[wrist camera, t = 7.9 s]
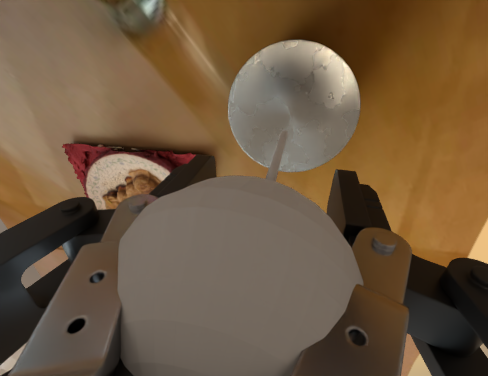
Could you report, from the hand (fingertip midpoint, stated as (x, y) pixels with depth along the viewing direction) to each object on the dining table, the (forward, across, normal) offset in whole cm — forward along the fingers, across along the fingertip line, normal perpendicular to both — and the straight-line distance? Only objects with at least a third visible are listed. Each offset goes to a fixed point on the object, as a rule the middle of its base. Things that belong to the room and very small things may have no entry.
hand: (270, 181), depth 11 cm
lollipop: (+7, 0, 0) cm, 7 cm away
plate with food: (+24, +24, +22) cm, 40 cm away
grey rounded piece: (+23, 0, 0) cm, 23 cm away
